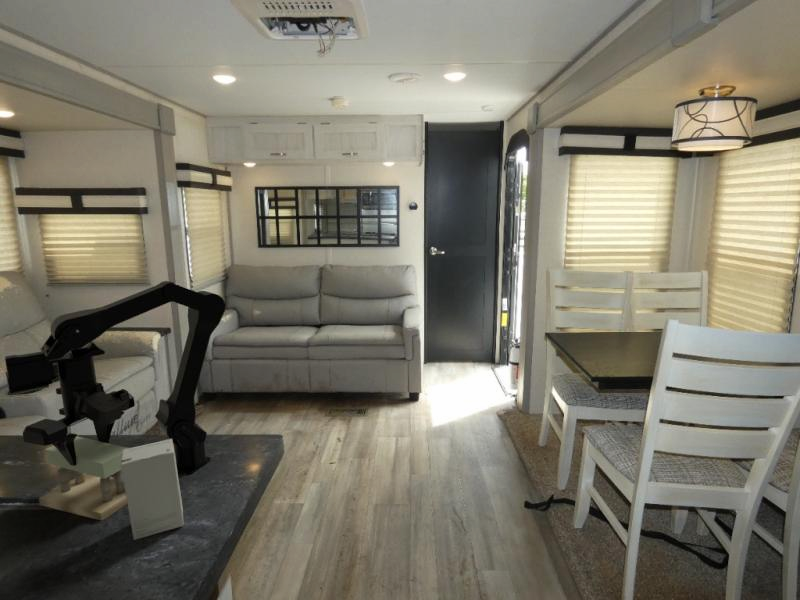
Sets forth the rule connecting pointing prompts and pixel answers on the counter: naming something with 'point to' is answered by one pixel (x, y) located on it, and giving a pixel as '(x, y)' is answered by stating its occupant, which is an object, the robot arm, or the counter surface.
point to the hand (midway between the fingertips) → (89, 457)
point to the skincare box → (152, 488)
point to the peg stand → (87, 494)
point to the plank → (90, 457)
